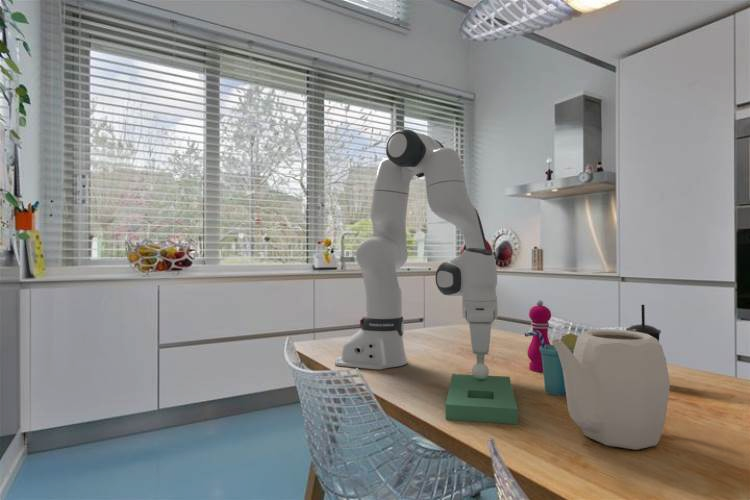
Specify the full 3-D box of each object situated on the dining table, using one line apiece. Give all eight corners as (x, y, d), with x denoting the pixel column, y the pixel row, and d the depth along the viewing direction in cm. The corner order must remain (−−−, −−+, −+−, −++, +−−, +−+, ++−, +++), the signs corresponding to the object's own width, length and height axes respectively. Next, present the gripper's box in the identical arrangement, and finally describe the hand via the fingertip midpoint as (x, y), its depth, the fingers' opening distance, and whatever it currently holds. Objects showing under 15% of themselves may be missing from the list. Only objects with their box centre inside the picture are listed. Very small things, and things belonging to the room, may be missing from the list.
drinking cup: (664, 382, 116) (663, 304, 116) (658, 388, 110) (656, 307, 111) (631, 377, 121) (630, 302, 121) (623, 383, 116) (622, 305, 116)
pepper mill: (550, 366, 133) (549, 298, 133) (557, 373, 126) (556, 301, 126) (525, 366, 134) (524, 298, 134) (530, 372, 127) (529, 301, 127)
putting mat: (445, 419, 92) (445, 404, 92) (452, 385, 115) (452, 373, 115) (517, 424, 88) (517, 408, 88) (509, 388, 112) (509, 376, 112)
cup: (534, 399, 104) (533, 333, 104) (518, 389, 111) (517, 328, 111) (589, 395, 106) (588, 331, 106) (570, 386, 113) (569, 326, 114)
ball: (471, 381, 108) (471, 364, 108) (472, 376, 112) (471, 360, 112) (489, 382, 107) (488, 365, 107) (488, 377, 111) (488, 361, 111)
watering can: (523, 434, 84) (521, 332, 84) (629, 415, 93) (628, 323, 93) (590, 471, 69) (588, 347, 69) (708, 444, 78) (706, 335, 78)
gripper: (468, 306, 127) (468, 355, 127) (466, 315, 107) (467, 374, 107) (491, 306, 126) (491, 356, 125) (493, 316, 106) (494, 375, 106)
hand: (480, 364), depth 116 cm, fingers closed
